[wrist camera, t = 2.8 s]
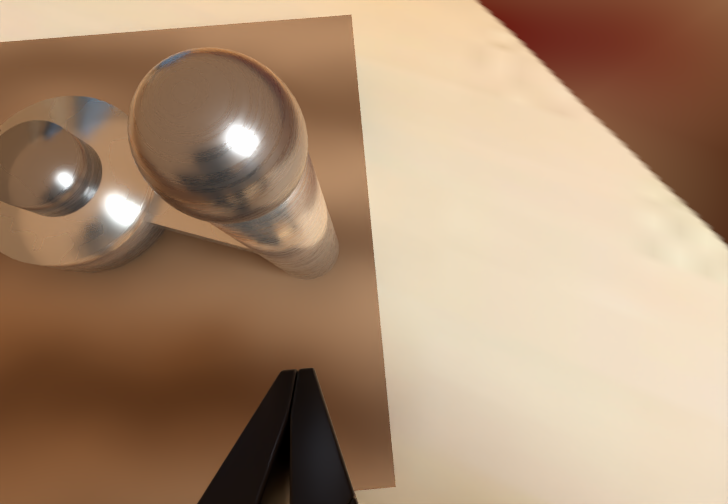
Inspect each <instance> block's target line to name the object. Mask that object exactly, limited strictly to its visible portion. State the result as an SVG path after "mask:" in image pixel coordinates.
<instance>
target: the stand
mask: <svg viewBox="0 0 728 504" xmlns="http://www.w3.org/2000/svg"><path fill="white" fill-rule="evenodd" d="M205 47H214V48H223V49H228V50H232V51H236V52H239V53H242V54H245V55H247V56H249V57H251V58H253V59H255V60H257V61H258V62H260V63H262V64H263V65H265V66H266V67H268V68H269V69H270V70H271V71H273V72H274V73H275V74H276V75H277V76H278V77H279V78H280V79H281V80H282V81H283V82H284V83H285V84H286V86H287V87H288V88H289V90H290V91H291V93H292V94H293V95H294V97H295V99H296V101H297V102H298V104H299V106H300V109H301V111H302V114H303V117H304V120H305V123H306V129H307V134H308V152H309V155H310V158H311V161H312V164H313V167H314V170H315V173H316V176H317V179H318V182H319V185H320V188H321V191H322V194H323V197H324V200H325V203H326V206H327V209H328V212H329V215H330V218H331V221H332V224H333V227H334V230H335V233H336V236H337V239H338V243H339V253H338V257H337V260H336V262H335V264H334V265H333V267H332V268H331V269H330V270H329V271H328V272H327V273H326V274H324V275H323V276H321V277H318V278H315V279H310V280H304V279H298V278H295V277H293V276H291V275H290V274H288V273H287V272H285V271H283V270H282V269H280V268H279V267H277V266H276V265H274V264H273V263H271V262H269V261H268V260H266V259H265V258H263V257H262V256H260V255H259V254H256V253H252V252H248V251H244V250H241V249H237V248H233V247H230V246H226V245H222V244H218V243H215V242H211V241H207V240H203V239H200V238H196V237H192V236H188V235H185V234H181V233H177V232H173V231H170V230H166V229H165V231H164V232H163V234H162V235H161V236H160V238H159V239H158V240H157V241H156V242H155V243H154V244H153V245H152V246H151V247H150V248H149V249H148V250H147V251H146V252H145V253H143V254H142V255H141V256H139V257H138V258H136V259H135V260H133V261H131V262H129V263H127V264H125V265H123V266H121V267H118V268H115V269H112V270H108V271H103V272H94V273H83V272H74V271H69V270H63V269H57V268H52V267H46V266H40V265H35V264H30V263H25V262H21V261H18V260H15V259H12V258H10V257H8V256H6V255H5V254H3V253H1V252H0V504H197V503H198V501H199V500H200V498H201V497H202V495H203V493H204V492H205V490H206V489H207V487H208V485H209V484H210V482H211V481H212V479H213V478H214V476H215V474H216V473H217V471H218V470H219V468H220V466H221V465H222V463H223V462H224V460H225V459H226V457H227V455H228V454H229V452H230V451H231V449H232V447H233V446H234V444H235V443H236V441H237V439H238V438H239V436H240V435H241V433H242V432H243V430H244V428H245V427H246V425H247V424H248V422H249V420H250V419H251V417H252V416H253V414H254V413H255V411H256V409H257V408H258V406H259V405H260V403H261V401H262V400H263V398H264V397H265V395H266V393H267V392H268V390H269V389H270V387H271V386H272V384H273V382H274V381H275V379H276V378H277V376H278V374H279V373H280V372H281V371H282V370H289V369H297V370H299V369H301V368H314V369H315V371H316V374H317V377H318V381H319V384H320V387H321V390H322V393H323V396H324V399H325V402H326V405H327V408H328V411H329V415H330V418H331V421H332V424H333V427H334V430H335V433H336V436H337V439H338V442H339V445H340V449H341V452H342V455H343V458H344V461H345V464H346V467H347V470H348V473H349V476H350V479H351V483H352V486H353V489H354V491H356V490H366V489H377V488H387V487H396V486H395V475H394V465H393V454H392V443H391V433H390V422H389V411H388V401H387V390H386V379H385V369H384V358H383V347H382V337H381V326H380V316H379V305H378V294H377V284H376V273H375V262H374V252H373V241H372V230H371V220H370V209H369V198H368V188H367V177H366V166H365V156H364V145H363V134H362V124H361V113H360V102H359V92H358V81H357V70H356V60H355V49H354V38H353V28H352V17H351V15H343V16H330V17H318V18H305V19H292V20H279V21H266V22H254V23H241V24H228V25H215V26H202V27H190V28H177V29H164V30H151V31H138V32H126V33H113V34H100V35H87V36H74V37H62V38H49V39H36V40H23V41H10V42H0V126H1V125H2V124H3V123H4V122H5V121H6V120H8V119H9V118H10V117H12V116H13V115H14V114H16V113H17V112H19V111H21V110H23V109H24V108H26V107H28V106H30V105H33V104H35V103H37V102H40V101H43V100H47V99H50V98H56V97H61V96H85V97H91V98H96V99H99V100H102V101H105V102H107V103H109V104H111V105H113V106H115V107H117V108H118V109H120V110H121V111H123V112H124V113H125V114H126V115H127V116H128V113H129V108H130V104H131V101H132V98H133V95H134V93H135V91H136V89H137V87H138V85H139V84H140V82H141V81H142V79H143V78H144V77H145V75H146V74H147V73H148V72H149V71H150V70H151V69H152V68H153V67H154V66H155V65H157V64H158V63H160V62H161V61H162V60H164V59H166V58H167V57H169V56H171V55H174V54H176V53H178V52H181V51H185V50H189V49H194V48H205Z"/></svg>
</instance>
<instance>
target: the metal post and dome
mask: <svg viewBox="0 0 728 504" xmlns="http://www.w3.org/2000/svg"><path fill="white" fill-rule="evenodd" d="M165 229H166V230H170V231H173V232H177V233H181V234H185V235H188V236H192V237H196V238H200V239H203V240H207V241H211V242H215V243H218V244H222V245H226V246H230V247H233V248H237V249H241V250H244V251H248V252H252V253H256V254H259V255H260V256H262V257H263V258H265V259H266V260H268V261H269V262H271V263H273V264H274V265H276V266H277V267H279V268H280V269H282V270H283V271H285V272H287V273H288V274H290V275H291V276H293V277H295V278H298V279H304V280H310V279H315V278H318V277H321V276H323V275H324V274H326V273H327V272H328V271H329V270H330V269H331V268H332V267H333V265H334V264H335V262H336V260H337V257H338V253H339V243H338V239H337V236H336V233H335V230H334V227H333V224H332V221H331V218H330V215H329V212H328V209H327V206H326V203H325V200H324V197H323V194H322V191H321V188H320V185H319V182H318V179H317V176H316V173H315V170H314V167H313V164H312V161H311V158H310V155H309V152H308V134H307V129H306V123H305V120H304V117H303V114H302V111H301V109H300V106H299V104H298V102H297V101H296V99H295V97H294V95H293V94H292V93H291V91H290V90H289V88H288V87H287V86H286V84H285V83H284V82H283V81H282V80H281V79H280V78H279V77H278V76H277V75H276V74H275V73H274V72H273V71H271V70H270V69H269V68H268V67H266V66H265V65H263V64H262V63H260V62H258V61H257V60H255V59H253V58H251V57H249V56H247V55H245V54H242V53H239V52H236V51H232V50H228V49H223V48H214V47H205V48H194V49H189V50H185V51H181V52H178V53H176V54H174V55H171V56H169V57H167V58H166V59H164V60H162V61H161V62H160V63H158V64H157V65H155V66H154V67H153V68H152V69H151V70H150V71H149V72H148V73H147V74H146V75H145V77H144V78H143V79H142V81H141V82H140V84H139V85H138V87H137V89H136V91H135V93H134V95H133V98H132V101H131V104H130V108H129V113H128V116H127V115H126V114H125V113H124V112H123V111H121V110H120V109H118V108H117V107H115V106H113V105H111V104H109V103H107V102H105V101H102V100H99V99H96V98H91V97H85V96H61V97H56V98H50V99H47V100H43V101H40V102H37V103H35V104H33V105H30V106H28V107H26V108H24V109H23V110H21V111H19V112H17V113H16V114H14V115H13V116H12V117H10V118H9V119H8V120H6V121H5V122H4V123H3V124H2V125H1V126H0V252H1V253H3V254H5V255H6V256H8V257H10V258H12V259H15V260H18V261H21V262H25V263H30V264H35V265H40V266H46V267H52V268H57V269H63V270H69V271H74V272H83V273H94V272H103V271H108V270H112V269H115V268H118V267H121V266H123V265H125V264H127V263H129V262H131V261H133V260H135V259H136V258H138V257H139V256H141V255H142V254H143V253H145V252H146V251H147V250H148V249H149V248H150V247H151V246H152V245H153V244H154V243H155V242H156V241H157V240H158V239H159V238H160V236H161V235H162V234H163V232H164V231H165Z"/></svg>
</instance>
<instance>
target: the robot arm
mask: <svg viewBox="0 0 728 504" xmlns="http://www.w3.org/2000/svg"><path fill="white" fill-rule="evenodd" d="M197 504H358V501H357V498H356V496H355V492H354V489H353V486H352V483H351V479H350V476H349V473H348V470H347V467H346V464H345V461H344V458H343V455H342V452H341V449H340V445H339V442H338V439H337V436H336V433H335V430H334V427H333V424H332V421H331V418H330V415H329V411H328V408H327V405H326V402H325V399H324V396H323V393H322V390H321V387H320V384H319V381H318V377H317V374H316V371H315V369H314V368H301V369H299V370H297V369H289V370H282V371H281V372H280V373H279V374H278V376H277V378H276V379H275V381H274V382H273V384H272V386H271V387H270V389H269V390H268V392H267V393H266V395H265V397H264V398H263V400H262V401H261V403H260V405H259V406H258V408H257V409H256V411H255V413H254V414H253V416H252V417H251V419H250V420H249V422H248V424H247V425H246V427H245V428H244V430H243V432H242V433H241V435H240V436H239V438H238V439H237V441H236V443H235V444H234V446H233V447H232V449H231V451H230V452H229V454H228V455H227V457H226V459H225V460H224V462H223V463H222V465H221V466H220V468H219V470H218V471H217V473H216V474H215V476H214V478H213V479H212V481H211V482H210V484H209V485H208V487H207V489H206V490H205V492H204V493H203V495H202V497H201V498H200V500H199V501H198V503H197Z"/></svg>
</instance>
